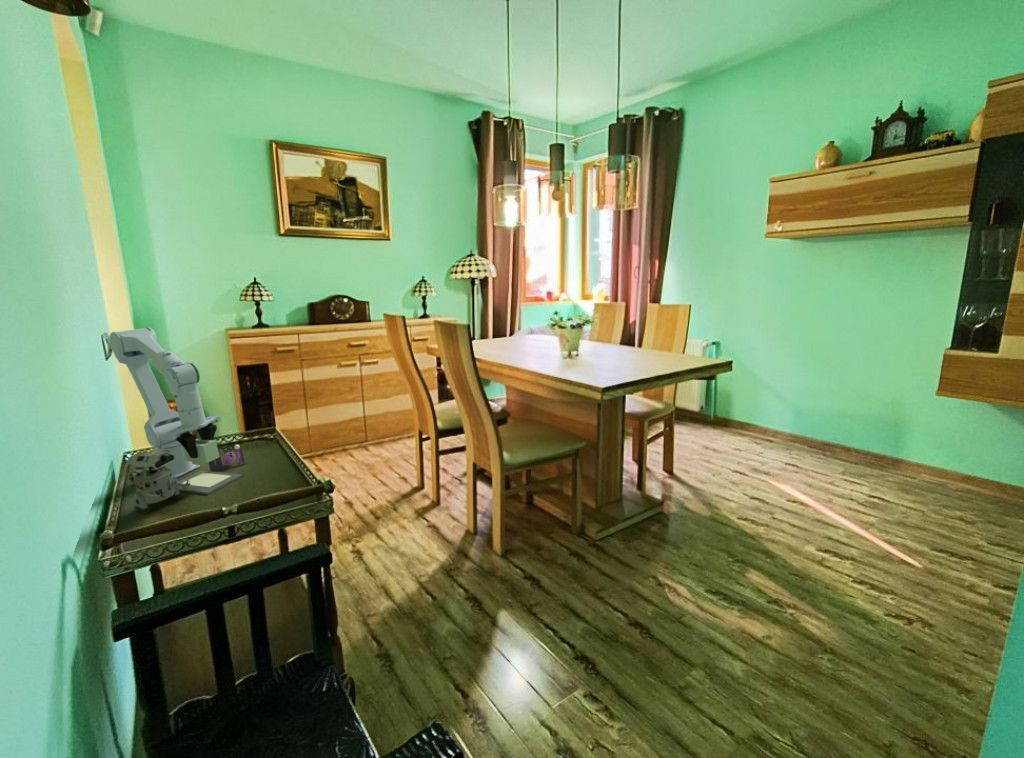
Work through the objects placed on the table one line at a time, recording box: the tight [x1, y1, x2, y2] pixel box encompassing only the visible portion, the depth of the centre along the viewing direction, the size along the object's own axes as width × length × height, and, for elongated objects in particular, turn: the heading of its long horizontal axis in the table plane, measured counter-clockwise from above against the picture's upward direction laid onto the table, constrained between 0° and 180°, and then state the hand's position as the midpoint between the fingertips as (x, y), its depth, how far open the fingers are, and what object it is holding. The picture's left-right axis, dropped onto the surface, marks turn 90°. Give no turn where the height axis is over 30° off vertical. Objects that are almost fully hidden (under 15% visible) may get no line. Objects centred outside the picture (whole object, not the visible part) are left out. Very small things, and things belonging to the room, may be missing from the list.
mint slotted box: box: [182, 438, 221, 464], centre depth 133 cm, size 4×8×5 cm, turn 72°
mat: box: [176, 469, 244, 496], centre depth 134 cm, size 16×11×1 cm
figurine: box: [125, 450, 190, 514], centre depth 120 cm, size 9×12×15 cm
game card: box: [207, 443, 246, 472], centre depth 145 cm, size 7×5×9 cm
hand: (201, 454), depth 133 cm, fingers closed on mint slotted box, 4 cm apart
